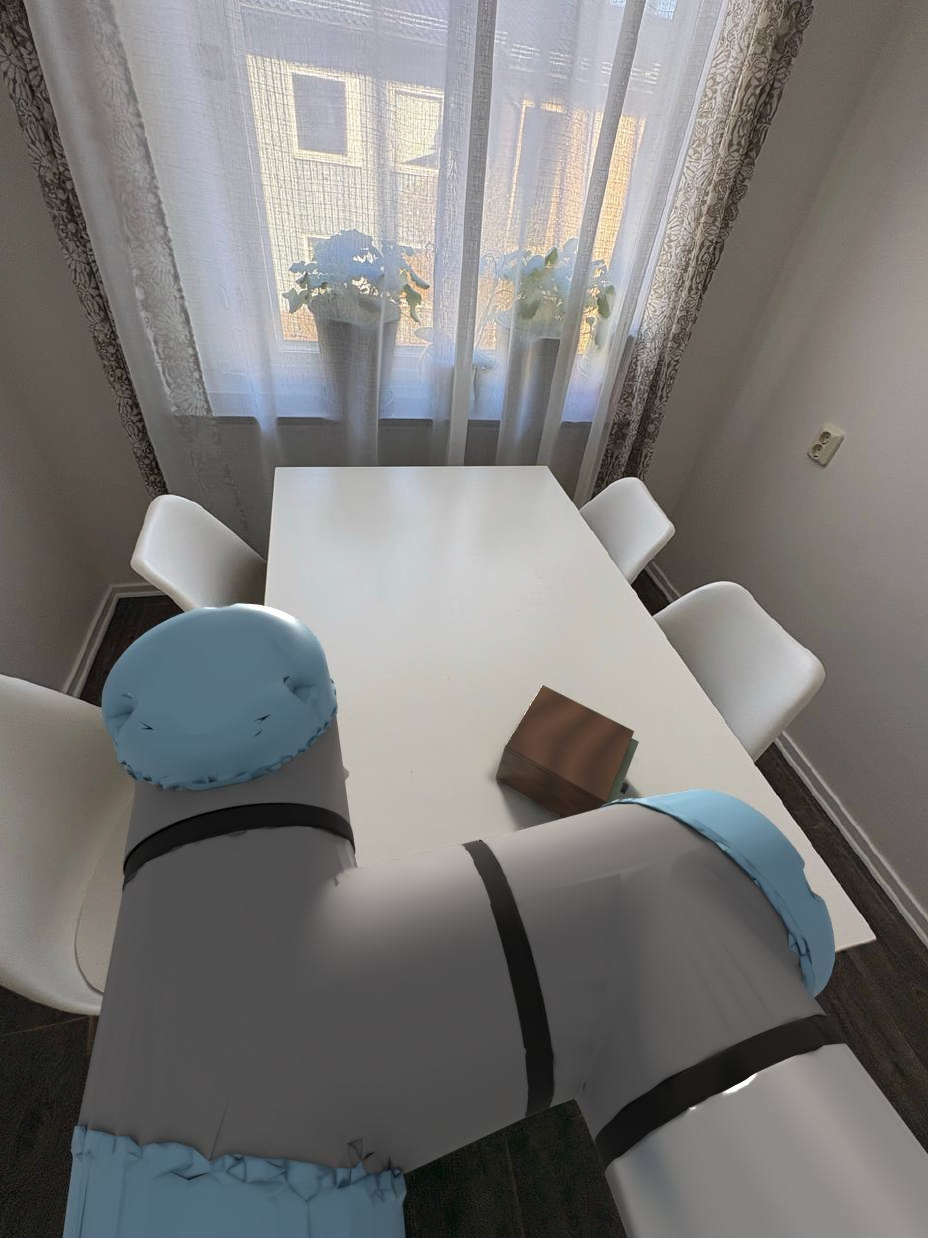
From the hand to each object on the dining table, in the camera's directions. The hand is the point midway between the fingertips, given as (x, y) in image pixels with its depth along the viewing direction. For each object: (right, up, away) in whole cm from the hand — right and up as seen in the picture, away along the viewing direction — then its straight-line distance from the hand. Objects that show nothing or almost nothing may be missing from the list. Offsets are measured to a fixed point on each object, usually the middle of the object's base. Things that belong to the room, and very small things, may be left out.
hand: (321, 947), depth 44 cm
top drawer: (+29, +5, +33) cm, 44 cm away
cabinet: (+27, +5, +35) cm, 44 cm away
